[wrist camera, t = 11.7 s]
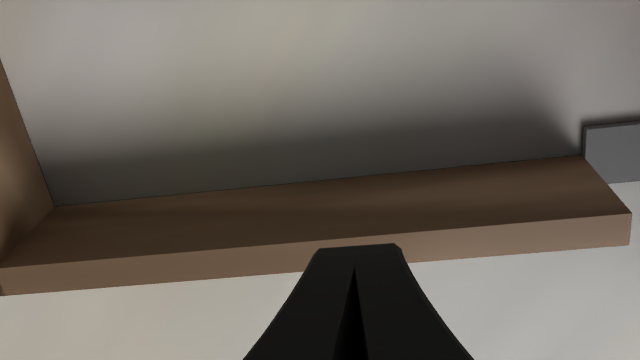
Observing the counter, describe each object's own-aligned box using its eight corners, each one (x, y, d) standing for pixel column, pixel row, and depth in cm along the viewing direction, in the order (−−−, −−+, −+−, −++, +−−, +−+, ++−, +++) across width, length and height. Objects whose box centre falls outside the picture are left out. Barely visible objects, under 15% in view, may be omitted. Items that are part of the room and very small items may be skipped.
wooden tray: (580, 182, 20) (629, 245, 16) (38, 232, 22) (-25, 298, 19) (608, -347, 14) (693, -429, 11) (-133, -206, 16) (-273, -235, 13)
